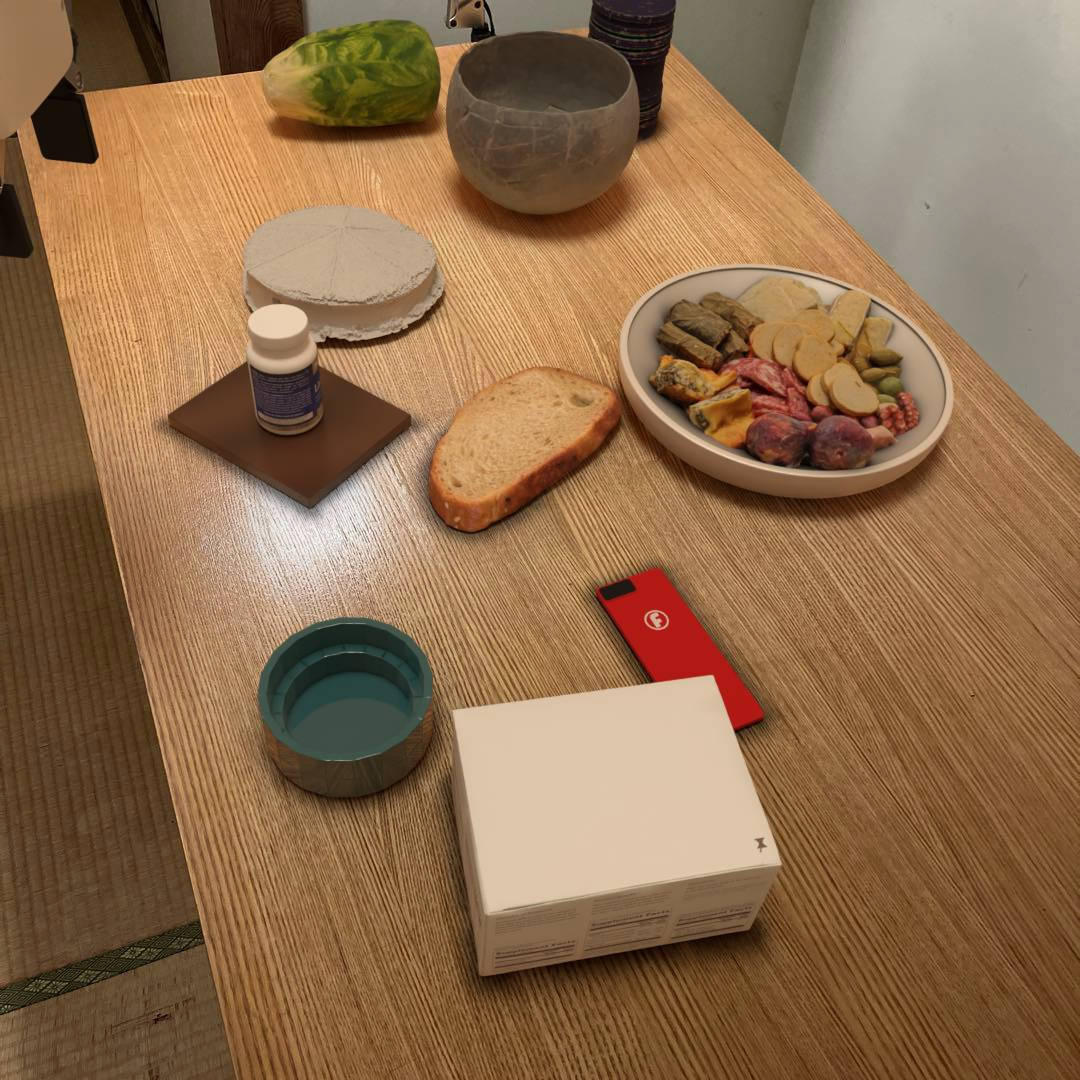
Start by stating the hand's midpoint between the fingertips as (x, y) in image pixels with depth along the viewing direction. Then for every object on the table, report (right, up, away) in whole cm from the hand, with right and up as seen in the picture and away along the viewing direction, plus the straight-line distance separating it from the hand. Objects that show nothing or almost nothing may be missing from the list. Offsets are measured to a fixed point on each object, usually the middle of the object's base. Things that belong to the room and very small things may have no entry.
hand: (39, 203), depth 60 cm
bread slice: (+27, -11, +34) cm, 44 cm away
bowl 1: (+27, +20, +62) cm, 70 cm away
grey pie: (+8, +6, +48) cm, 49 cm away
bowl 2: (+50, -6, +41) cm, 64 cm away
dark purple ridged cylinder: (+38, +33, +75) cm, 90 cm away
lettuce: (+5, +31, +70) cm, 77 cm away
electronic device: (+38, -27, +20) cm, 51 cm away
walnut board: (+6, -9, +34) cm, 35 cm away
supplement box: (+31, -39, +9) cm, 51 cm away
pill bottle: (+6, -8, +33) cm, 34 cm away
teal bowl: (+15, -31, +14) cm, 37 cm away
